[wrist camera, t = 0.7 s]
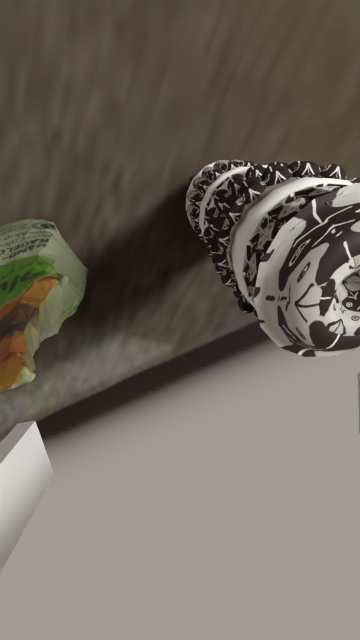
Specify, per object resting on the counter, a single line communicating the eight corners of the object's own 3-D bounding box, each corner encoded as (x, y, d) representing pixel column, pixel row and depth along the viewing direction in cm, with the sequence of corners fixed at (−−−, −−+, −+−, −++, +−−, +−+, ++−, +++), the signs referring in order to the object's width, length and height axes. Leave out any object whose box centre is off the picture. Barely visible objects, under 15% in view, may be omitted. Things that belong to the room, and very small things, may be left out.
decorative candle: (276, 215, 35) (491, 320, 14) (206, 258, 37) (300, 414, 15) (243, 136, 31) (477, 104, 9) (166, 188, 33) (214, 265, 11)
